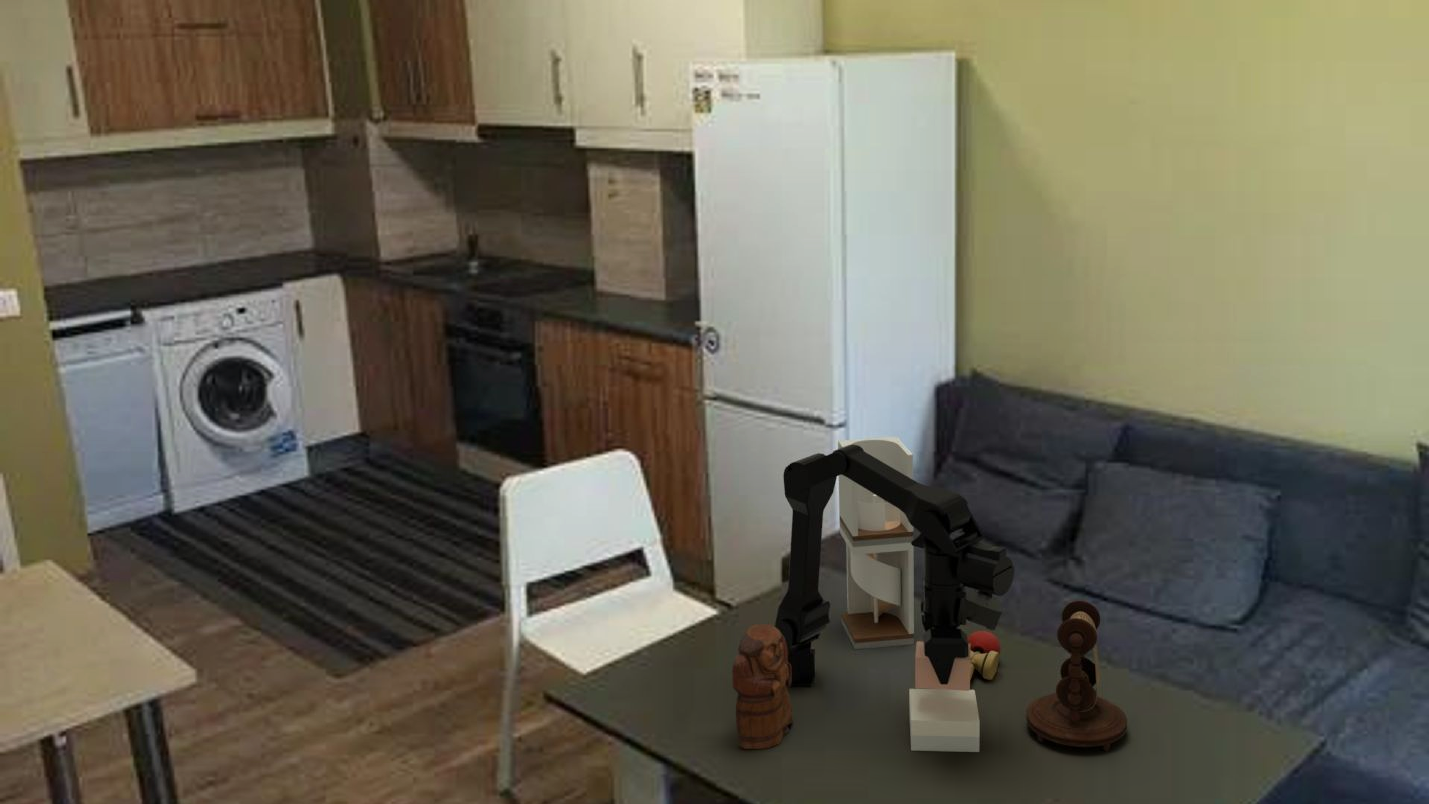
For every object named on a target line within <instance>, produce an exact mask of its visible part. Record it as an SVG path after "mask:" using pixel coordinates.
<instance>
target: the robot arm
mask: <svg viewBox="0 0 1429 804" xmlns="http://www.w3.org/2000/svg"><path fill="white" fill-rule="evenodd" d="M782 475H783V488H784V489H783V491H784V497H785V498H786V500H787V502H788V504H789V506H790V508H791V509H792V513H791V515H792V517H791V518H792V519H791V534H790V551H789V552H790V553H789V564H788V565H789V568H788V569H789V570H788V584H787V589H786V590H787V591H786V593H785V594H784V597H783V598H782V600H781V601H780V603H779V605H778V609H777V613H776V617H775V622H774V627H776V628H777V629H778V630H779V631H780V632H781V633H782V635H783V636H784V637H785V640H786V644H787V649H788V662H789V663H790V664H791V672H792V681H791V686H790V687H795V686H796V687H797V686H798V687H810V686H812V685H813V680H814V678H816V674H817V673H816V672H817V669H816V667H817V666H816V664H817V663H816V658H817V657H816V649H815V648H812V647H813V646H812V644H813V642H814V641H816V640H819V639H820V636H821V633H822V632H823V631H824V630H825V629H826V628H827V625H828V624H830V622H831V620H830V613H829V612H830V609H831V603H830V601H829V600H824V598H823V597H822V594H821V593H820V591H819V582H820V581H819V580H820V564H821V551H822V539H823V538H822V536H823V525H824V524H823V523H824V521H823V520H824V512H825V511H824V510H825V509H826V507H827V505H828V504H829V501H830V500H831V498H832V496H833V494H834V490H835V486H836V482H837V478H838V477H839V475H843V476H845V477H847V478H849V479H850V480H852V481H854V482H855V483H857V484H859V485H860V486H862V487H863V488H865V489H867V490H868V491H870V492H872V493H873V494H875V495H877V496H878V497H880V498H882V499H883V500H885V501H887V502H888V503H890V504H892V505H893V506H895V507H897V508H898V509H900V510H901V511H902V512H903V513H904V514H905V515H906V517H907V519H908V521H909V523H910V524H911V525H912V526H913V529H915V530H916V531H918V532H919V535H918V536H916V538H913V541H911V545H912V546H914V548H915V547H916V548H920V549H923V583H922V585H923V592H921V594H920V596H919V597H920V598H919V599H920V601H919V603H920V604H919V606H920V613H921V614H922V615H921V623H922V624H921V625H922V626H923V629H924V631H925V632H924V633H923V642H924V654H925V656H927V657H928V658H929V660H930V662H931V664H932V666H933V668H934V671H935V673H936V675H937V677H938V680H939V682H940V684H944V685H946V684H948V682H949V678H950V674H951V671H952V667H953V663H954V660H955V658H966V657H968V646H969V645H968V633H966V632H965V631H964V630H963V629H961V628H959V627H961V626H966V625H967V621H969V622H971V623H973V624H977V625H979V626H982V627H985V628H986V629H987V630H989V631H995V630H996V629H997V626H998V623H999V621H1000V618H1001V617H1002V614H1003V612H1004V611H1003V607H1002V602H1001V601H1000V600H999V599H998V597H1003V596H1004V595H1006V594H1007V593H1008V592H1009V591H1010V589H1011V587H1012V584H1013V582H1014V577H1015V566H1014V565H1013V561H1012V559H1011V558H1010V557H1009V556H1008V555H1007V549H1006V548H1005V547H1002V546H992V545H988V544H985V543H981V542H984V541H985V539H986V536H985V534H984V533H983V531H982V530H981V529H982V528H981V527H980V526H979V524H978V522H977V521H976V519H975V517H974V516H973V513H972V512H971V511H970V509H969V505H968V501H967V500H966V499H965V498H964V496H962V495H960V494H959V493H956V492H953V491H951V490H948V489H945V488H943V487H937V486H930V485H925V484H922V483H920V482H917V481H916V480H914V479H913V480H912V479H911V478H909V477H907V476H906V475H904V474H902V473H900V472H899V471H897V470H895V469H894V468H892V467H890V466H888V465H887V464H885V463H883V462H882V461H880V460H878V459H876V458H875V457H873V456H871V455H870V454H868V453H866V452H864V450H863V449H862V448H861V447H860V446H858V445H854V444H852V445H848V446H845V447H842V448H840V449H838V448H837V449H836V450H834V451H832V452H831V453H828V454H827V455H826V454H824V453H819V452H818V453H814V454H811V455H809V456H807V457H803V458H800V459H797V460H795V461H793V462H791V463H789V464H788V465H787V466H785V468H784V470H783V474H782ZM960 531H963V532H964V533H963V534H961V535H959V536H957V537H955V538H951V536H952V535H954V534H956V533H958V532H960ZM965 587H967V588H970V589H971V590H969V589H965ZM993 596H994V597H993ZM996 596H998V597H996Z"/></svg>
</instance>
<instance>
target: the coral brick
mask: <svg viewBox="0 0 1429 804" xmlns="http://www.w3.org/2000/svg"><path fill="white" fill-rule="evenodd" d="M968 645H969V646H968V657H966V658H955V660H954V663H953V667H952V671H951V674H950V678H949V682H948V684H946V685H944V684H940V682H939V680H938V677H937V675H936V673H935V671H934V668H933V666H932V664H931V662H930V660H929V658H928V657H927V656H925V654H924V641H918V640H917V641H916V646H915V657H914V659H915V671H914V672H915V676H914V677H915V679H914V680H915V681H914V685H915V687H914V689H945V690H964V691H970V690H971V680H970V644H968Z"/></svg>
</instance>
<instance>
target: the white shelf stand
mask: <svg viewBox="0 0 1429 804" xmlns="http://www.w3.org/2000/svg"><path fill="white" fill-rule="evenodd" d="M852 444H854V445H858V446H860V447H861V448H862V449H863V450H864V452H866V453H868V454H870V455H871V456H873V457H875V458H876V459H878V460H880V461H882V462H883V463H885V464H887V465H888V466H890V467H892V468H894V469H895V470H897V471H899V472H900V473H902V474H904V475H906V476H907V477H909V478H911V479H912V480H914V454H913V453H912V452H911V451H910V450H909V449H908V447H907V446H906V445H905V444H904V443H903V442H902V440H900V439H899V437H898V436H886V437H873V438H862V439H861V438H859V439H845V440H838V441H837V449H840V448H842V447H845V446H848V445H852ZM838 506H839V507H838V508H839V509H838V510H839V517H838V518H839V534H840V535H841V536H842V538H843V540H844V542H845V545H846V546H845V547H846V548H845V549H846V550H845V551H846V555H845V556H846V595H847V596H846V598H847V599H846V602H847V609H846V610H847V611H846V612H845V611H844V612H841V615H840V616H841V617H840V618H841V625H842V627H843V629H844V631H845V633H846V635H847V637H848V639H849V641H850V642H851V643H850V644H852V646H853V649H854V650H862V649H875V648H887V647H896V646H897V647H899V646H909V645H911V646H912V645H914V644H915V608H914V604H915V599H914V598H915V597H914V596H915V595H914V594H915V593H914V591H915V588H914V587H915V583H914V579H915V578H914V572H915V571H914V570H915V569H914V567H915V566H914V565H915V564H914V558H915V557H914V552H915V550H914V549H915V546H912V545H911V541H913V540H914V527H913V526H912V525H911V524H910V523H909V521H908V519H907V517H906V515H905V514H904V513H903V512H902V511H901V510H900V509H898V508H897V507H895V506H893V505H892V504H890V503H888V502H887V501H885V500H883V499H882V498H880V497H878V496H877V495H875V494H873V493H872V492H870V491H868V490H867V489H865V488H863V487H862V486H860V485H859V484H857V483H855V482H854V481H852V480H850V479H849V478H847V477H845V476H843V475H839V476H838Z"/></svg>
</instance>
